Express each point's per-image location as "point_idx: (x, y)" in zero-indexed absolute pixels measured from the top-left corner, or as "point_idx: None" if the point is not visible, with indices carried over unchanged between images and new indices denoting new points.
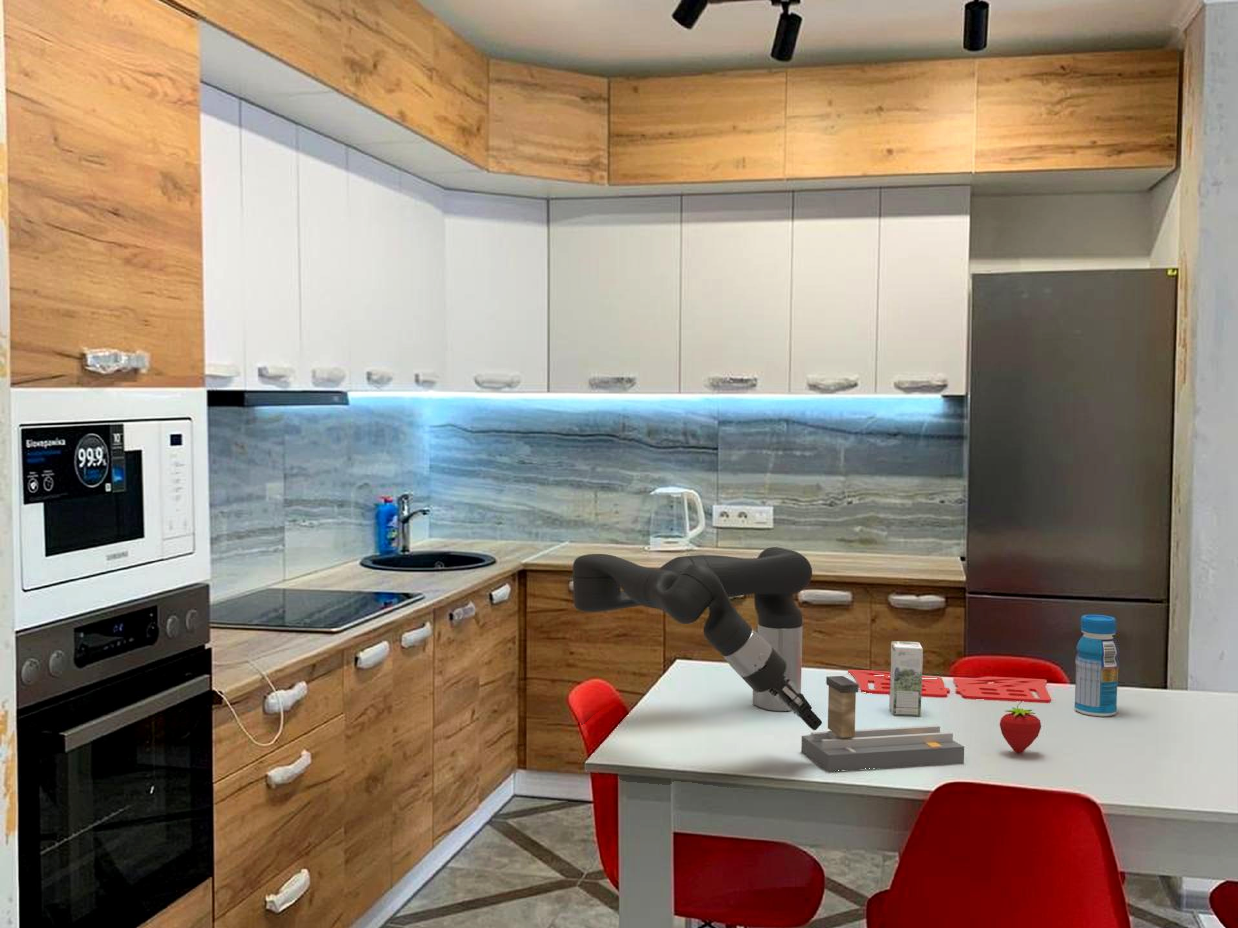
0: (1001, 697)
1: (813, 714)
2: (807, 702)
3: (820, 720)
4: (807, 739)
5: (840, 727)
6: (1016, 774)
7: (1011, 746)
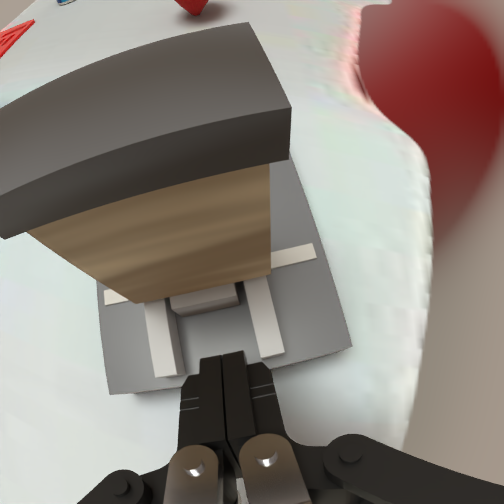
0: (5, 48)
1: (251, 402)
2: (467, 477)
3: (243, 358)
4: (153, 387)
5: (255, 264)
6: (299, 25)
7: (197, 9)
